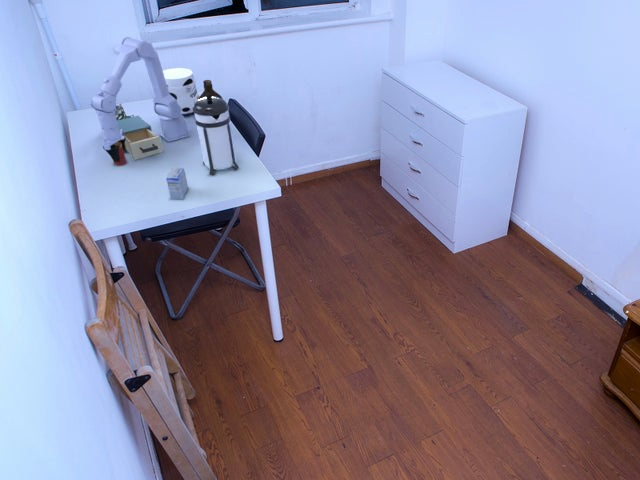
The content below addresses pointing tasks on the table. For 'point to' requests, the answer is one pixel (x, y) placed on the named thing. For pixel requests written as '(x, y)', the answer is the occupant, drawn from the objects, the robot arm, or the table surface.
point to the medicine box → (177, 183)
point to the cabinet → (132, 125)
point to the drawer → (142, 143)
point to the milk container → (182, 88)
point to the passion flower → (120, 113)
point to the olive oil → (209, 90)
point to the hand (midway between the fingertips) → (119, 158)
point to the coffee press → (215, 133)
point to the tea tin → (121, 153)
